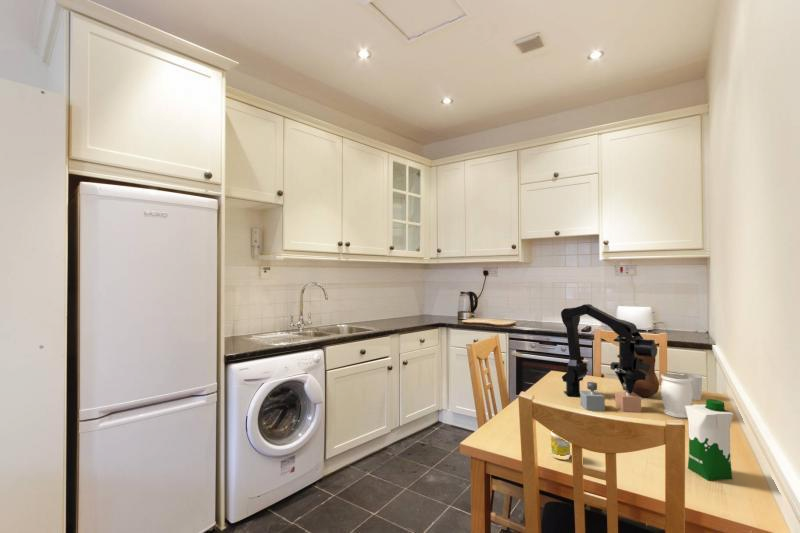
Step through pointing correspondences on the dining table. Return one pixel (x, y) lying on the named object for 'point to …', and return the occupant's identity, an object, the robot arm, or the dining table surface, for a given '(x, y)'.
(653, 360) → the butternut squash
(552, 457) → the dining table surface
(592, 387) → the slate pump
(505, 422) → the dining table surface
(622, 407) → the pink block with hole
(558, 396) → the dining table surface
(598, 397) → the slate bottle
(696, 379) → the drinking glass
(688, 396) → the jar
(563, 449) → the supplement bottle
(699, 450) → the milk carton
